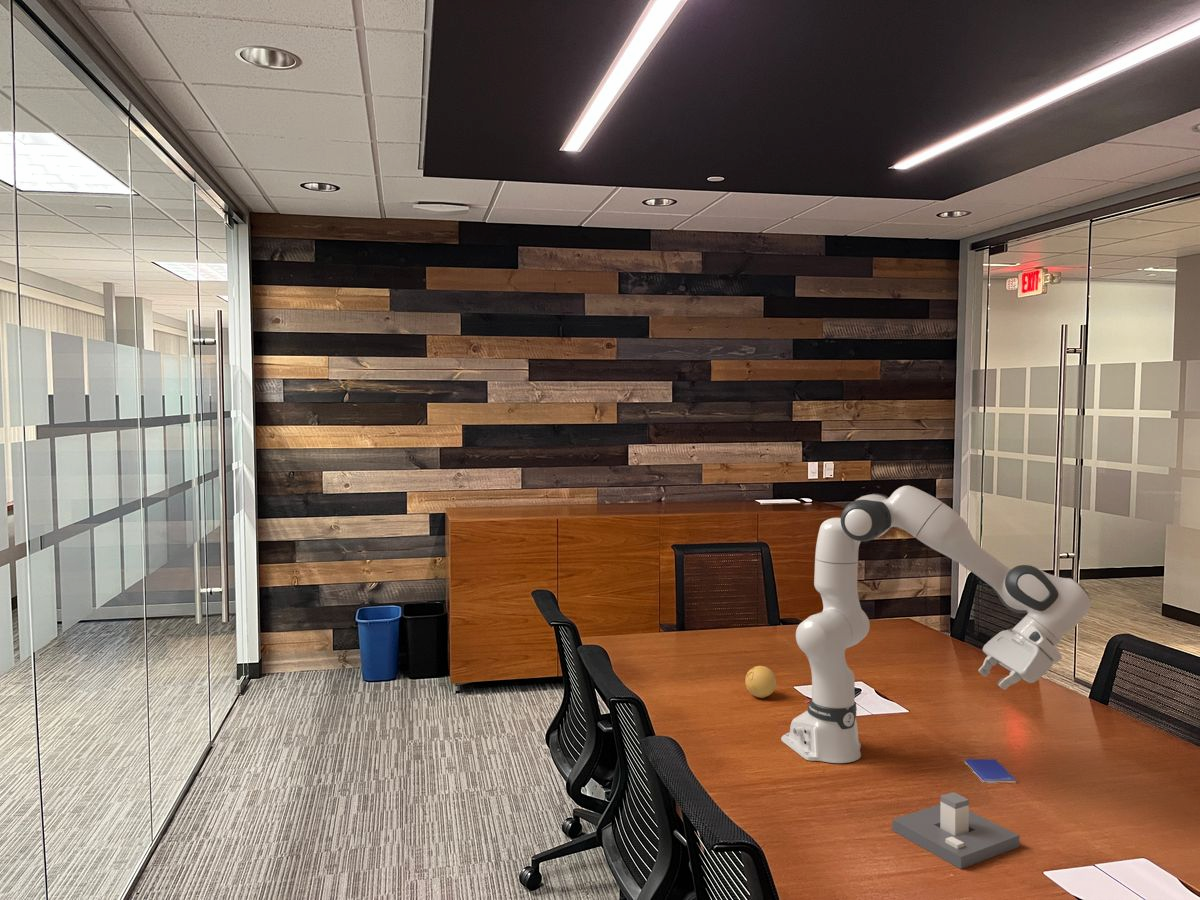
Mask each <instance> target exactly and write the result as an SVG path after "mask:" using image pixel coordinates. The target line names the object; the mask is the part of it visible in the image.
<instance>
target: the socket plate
mask: <svg viewBox="0 0 1200 900" xmlns="http://www.w3.org/2000/svg"><path fill="white" fill-rule="evenodd" d="M940 805H941V803H938V804H936V805H933V806H929V807H926V808H923V809H921V810H918V811H915V812H911V813H908V814H905V815H903V816H898V817H895V818H893V819H892V831H893V832H895V833H896V834H898V835H900V836H901V837H903V838H905V839H907V840H909V841H910V842H913V844H915V845H918V846H919V847H921V848H923V849H925V850H926V851H928V852H930V853H932V854H934V855H935V856H937V857H939V858H940V859H942V860H944V861H946V862H948V863H949V864H950V865H953V866H955V867H956V868H957V869H960V870H962V869H965V868H968V867H970V866H973V865H976V864H978V863H981V862H983V861H985V860H989V859H991V858H994V857H996V856H998V855H1002V854H1004V852H1005V853H1007V852H1009V851H1012V850H1015V849H1017V848H1020V845H1021V843H1020V842H1021V839H1020V834H1019V833H1018V834H1017V833H1016V832H1014V831H1011V830H1010V829H1008V828H1005V827H1003V826H1002V825H1000V824H998V823H995V822H993V821H992V820H989V819H987V818H985V817H984V816H981V815H979V814H977V813H975V812H973V811H971V810H969V833H966V834H963V835H960V836H957V837H956V836H954V835H953V834H951V833H949V832H947V831H945V830H943V829H941V828H940ZM975 863H976V864H975Z"/></svg>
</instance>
